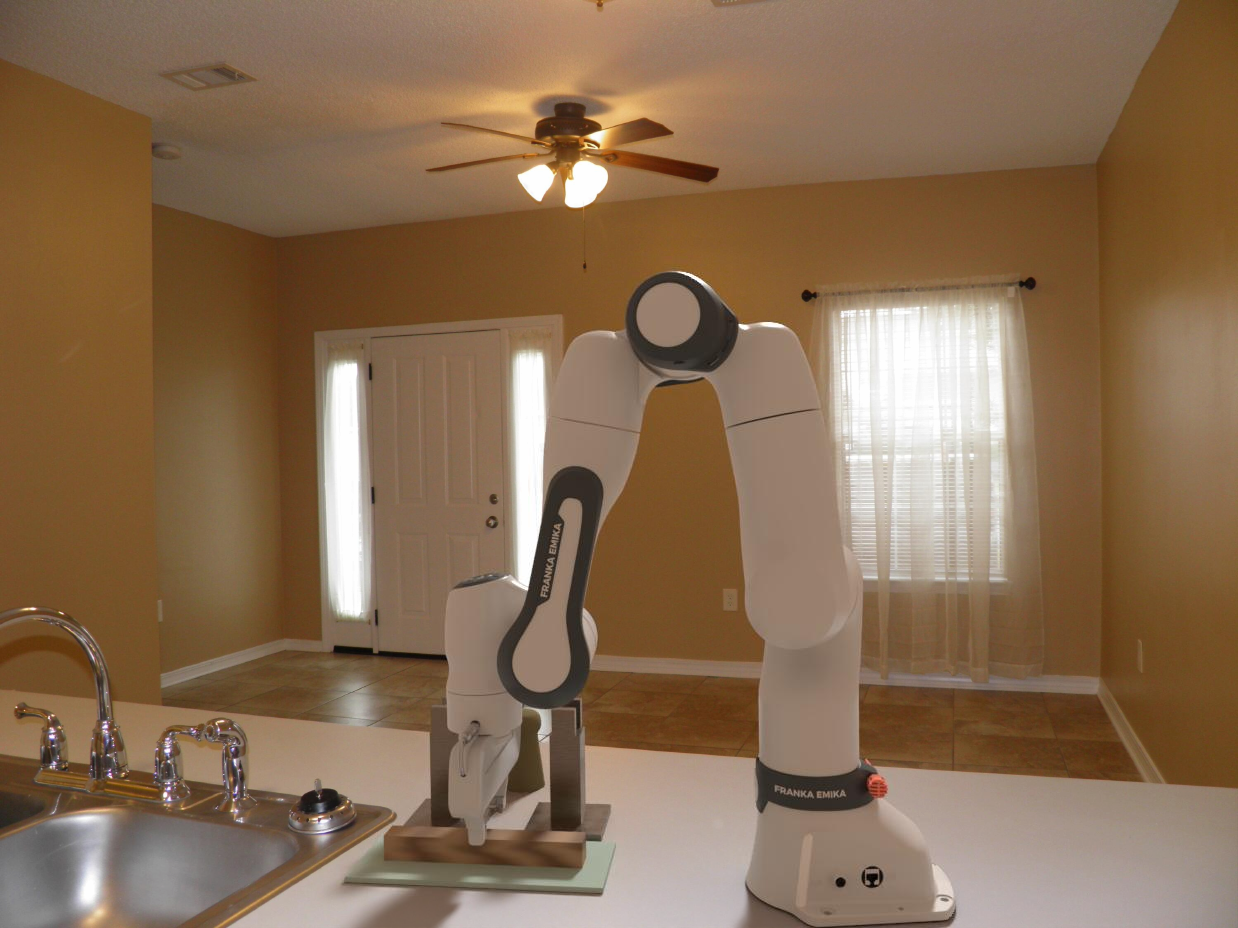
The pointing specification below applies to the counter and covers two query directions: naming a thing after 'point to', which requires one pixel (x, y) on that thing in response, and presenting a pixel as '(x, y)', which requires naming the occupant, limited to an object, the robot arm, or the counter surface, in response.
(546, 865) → the walnut rail
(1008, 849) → the counter surface
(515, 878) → the green mat
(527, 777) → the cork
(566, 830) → the cradle posts
